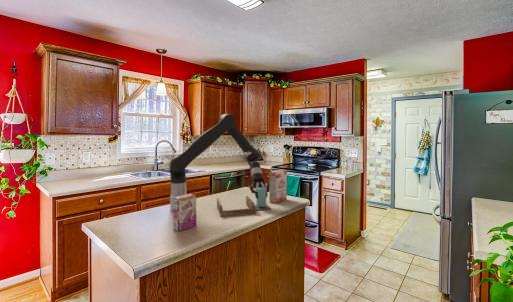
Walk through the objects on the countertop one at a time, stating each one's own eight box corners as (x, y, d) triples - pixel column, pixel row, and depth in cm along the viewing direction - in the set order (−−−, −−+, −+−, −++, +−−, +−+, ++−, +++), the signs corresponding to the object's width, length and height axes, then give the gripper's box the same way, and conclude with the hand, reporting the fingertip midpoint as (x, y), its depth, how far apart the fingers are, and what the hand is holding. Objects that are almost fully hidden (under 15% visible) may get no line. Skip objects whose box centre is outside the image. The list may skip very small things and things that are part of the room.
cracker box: (276, 203, 179) (276, 172, 177) (269, 202, 182) (268, 172, 181) (287, 199, 190) (287, 170, 188) (280, 198, 193) (279, 169, 192)
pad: (251, 206, 173) (251, 205, 173) (266, 205, 175) (266, 204, 175) (255, 210, 163) (255, 210, 163) (271, 209, 166) (271, 208, 166)
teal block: (256, 204, 171) (256, 187, 170) (263, 203, 172) (263, 186, 172) (258, 206, 166) (258, 189, 165) (266, 205, 168) (266, 188, 167)
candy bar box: (178, 232, 130) (177, 199, 129) (172, 229, 133) (171, 197, 132) (197, 225, 139) (196, 194, 137) (191, 223, 142) (190, 193, 141)
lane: (216, 207, 171) (216, 198, 171) (247, 204, 176) (247, 196, 176) (220, 216, 153) (220, 206, 152) (255, 213, 158) (254, 203, 157)
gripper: (247, 172, 173) (251, 195, 163) (268, 171, 177) (274, 193, 166) (245, 179, 179) (250, 201, 168) (266, 178, 182) (271, 200, 172)
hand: (262, 197), depth 167 cm, fingers closed on teal block, 5 cm apart
